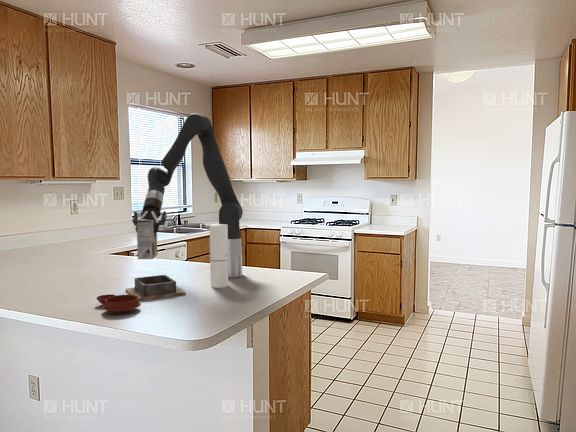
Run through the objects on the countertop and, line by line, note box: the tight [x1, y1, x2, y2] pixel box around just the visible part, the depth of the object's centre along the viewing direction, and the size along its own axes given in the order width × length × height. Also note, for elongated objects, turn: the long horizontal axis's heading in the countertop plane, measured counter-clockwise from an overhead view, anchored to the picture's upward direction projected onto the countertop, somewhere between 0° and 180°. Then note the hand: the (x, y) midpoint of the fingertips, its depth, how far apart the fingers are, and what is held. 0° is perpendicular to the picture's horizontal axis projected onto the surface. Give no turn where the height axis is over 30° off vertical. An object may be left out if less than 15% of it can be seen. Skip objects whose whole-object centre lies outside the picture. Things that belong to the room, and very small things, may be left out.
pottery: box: [95, 294, 142, 315], centre depth 143 cm, size 12×20×4 cm, turn 48°
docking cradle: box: [125, 274, 187, 302], centre depth 164 cm, size 18×18×5 cm
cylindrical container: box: [209, 223, 229, 289], centre depth 175 cm, size 7×7×25 cm
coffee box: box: [136, 218, 159, 260], centre depth 181 cm, size 9×6×16 cm
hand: (146, 231), depth 180 cm, fingers closed on coffee box, 6 cm apart
